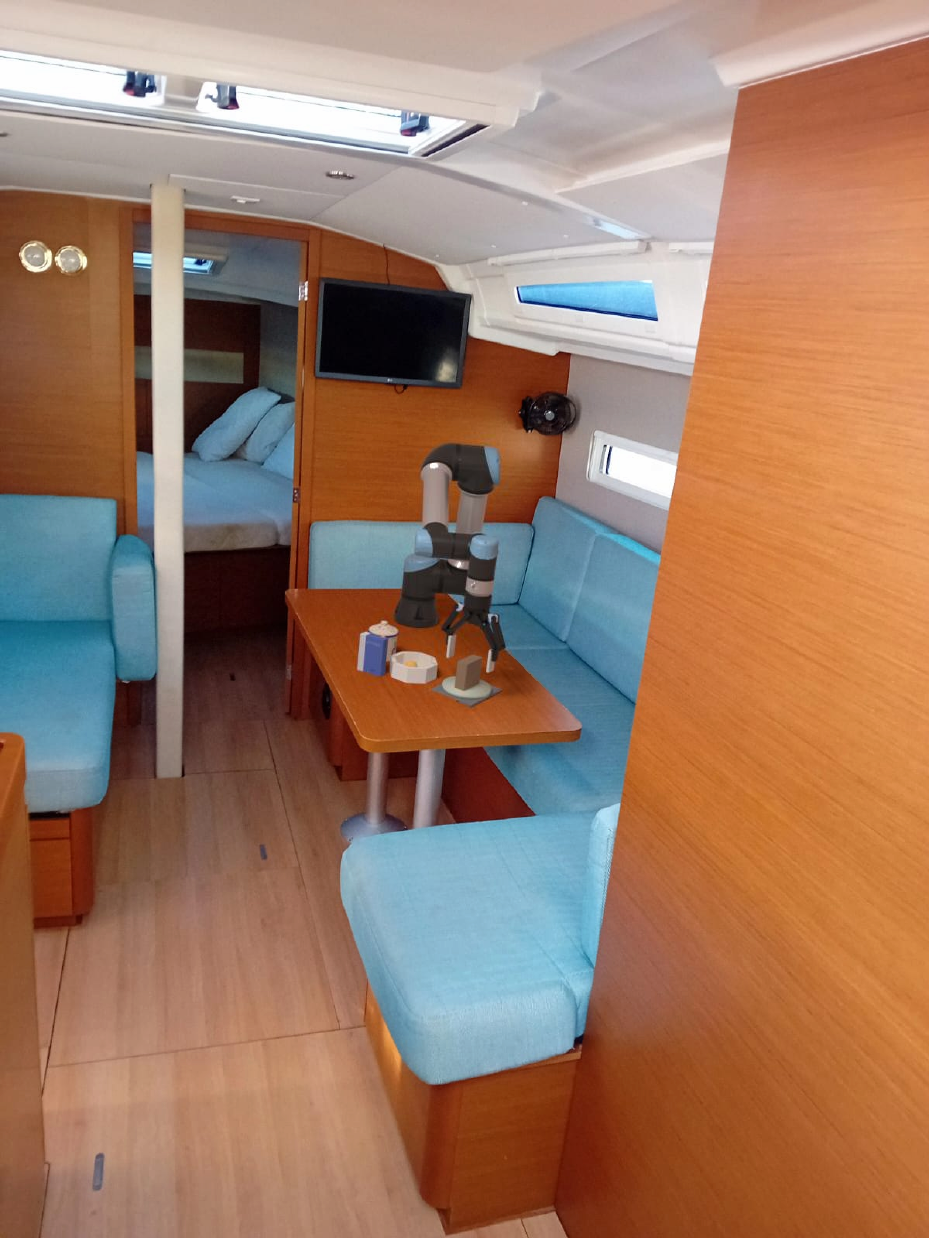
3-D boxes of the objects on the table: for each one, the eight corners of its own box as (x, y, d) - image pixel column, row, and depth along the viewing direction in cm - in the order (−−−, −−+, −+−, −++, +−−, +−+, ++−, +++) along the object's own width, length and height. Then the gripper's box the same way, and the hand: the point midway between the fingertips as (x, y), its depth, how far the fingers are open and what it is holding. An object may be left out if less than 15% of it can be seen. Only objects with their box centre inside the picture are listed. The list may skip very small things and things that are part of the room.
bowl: (408, 663, 279) (409, 648, 278) (443, 676, 273) (445, 661, 271) (380, 674, 269) (382, 658, 267) (416, 688, 262) (418, 672, 261)
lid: (459, 675, 274) (463, 646, 271) (500, 690, 267) (504, 660, 264) (432, 688, 262) (435, 658, 259) (473, 704, 255) (477, 673, 252)
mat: (461, 676, 275) (462, 674, 274) (501, 691, 268) (502, 689, 267) (429, 691, 262) (430, 689, 262) (471, 707, 255) (471, 705, 254)
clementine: (408, 670, 273) (410, 657, 272) (419, 674, 271) (421, 661, 270) (400, 673, 270) (401, 660, 268) (411, 677, 268) (412, 665, 266)
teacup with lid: (397, 664, 278) (401, 627, 274) (367, 662, 276) (370, 626, 273) (393, 649, 289) (396, 613, 286) (363, 648, 287) (367, 612, 284)
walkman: (385, 675, 269) (388, 636, 265) (380, 678, 266) (383, 639, 262) (361, 668, 272) (365, 630, 268) (356, 671, 269) (359, 632, 265)
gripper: (434, 583, 258) (426, 653, 265) (510, 607, 246) (499, 681, 253) (449, 578, 264) (441, 647, 271) (524, 601, 252) (514, 673, 259)
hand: (469, 663), depth 262 cm, fingers open, 13 cm apart
